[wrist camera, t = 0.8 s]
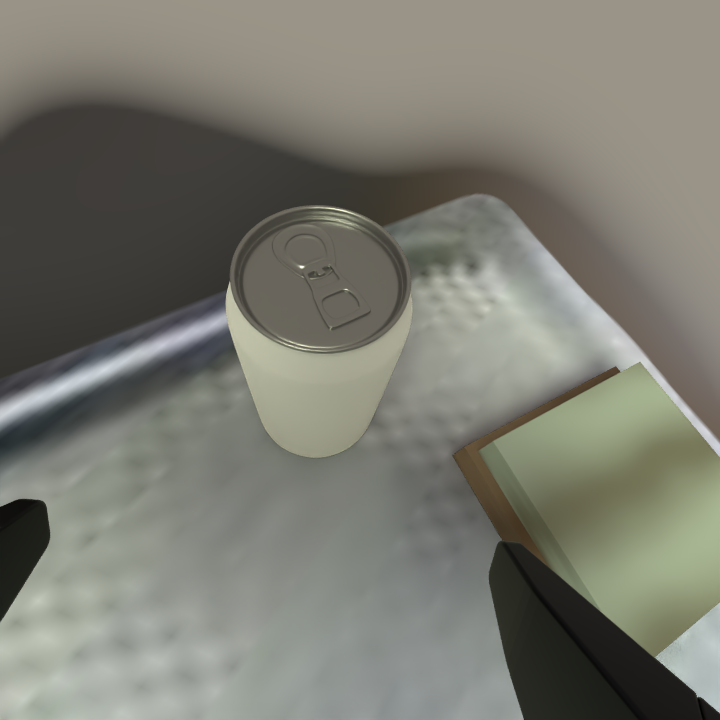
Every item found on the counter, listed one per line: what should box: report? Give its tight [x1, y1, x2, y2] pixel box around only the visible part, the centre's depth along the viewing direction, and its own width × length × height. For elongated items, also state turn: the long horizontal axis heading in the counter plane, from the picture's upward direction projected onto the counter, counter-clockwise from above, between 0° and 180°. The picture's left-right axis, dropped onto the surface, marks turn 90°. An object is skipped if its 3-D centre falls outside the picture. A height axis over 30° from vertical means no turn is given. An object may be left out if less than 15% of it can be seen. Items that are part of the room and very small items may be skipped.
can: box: [226, 205, 413, 458], centre depth 18 cm, size 6×6×12 cm
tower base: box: [453, 362, 720, 657], centre depth 21 cm, size 11×11×4 cm
